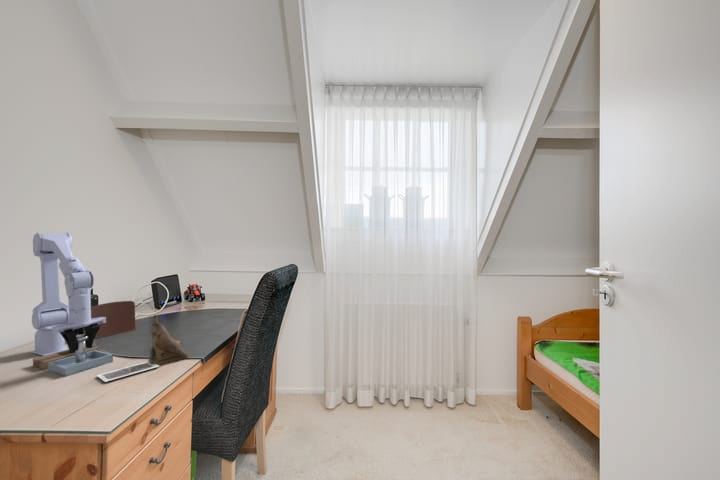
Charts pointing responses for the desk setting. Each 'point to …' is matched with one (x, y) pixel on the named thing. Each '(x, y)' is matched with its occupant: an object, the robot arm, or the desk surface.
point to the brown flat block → (56, 357)
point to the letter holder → (113, 318)
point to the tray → (70, 367)
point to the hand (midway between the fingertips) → (81, 349)
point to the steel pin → (81, 348)
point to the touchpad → (126, 371)
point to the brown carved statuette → (165, 346)
